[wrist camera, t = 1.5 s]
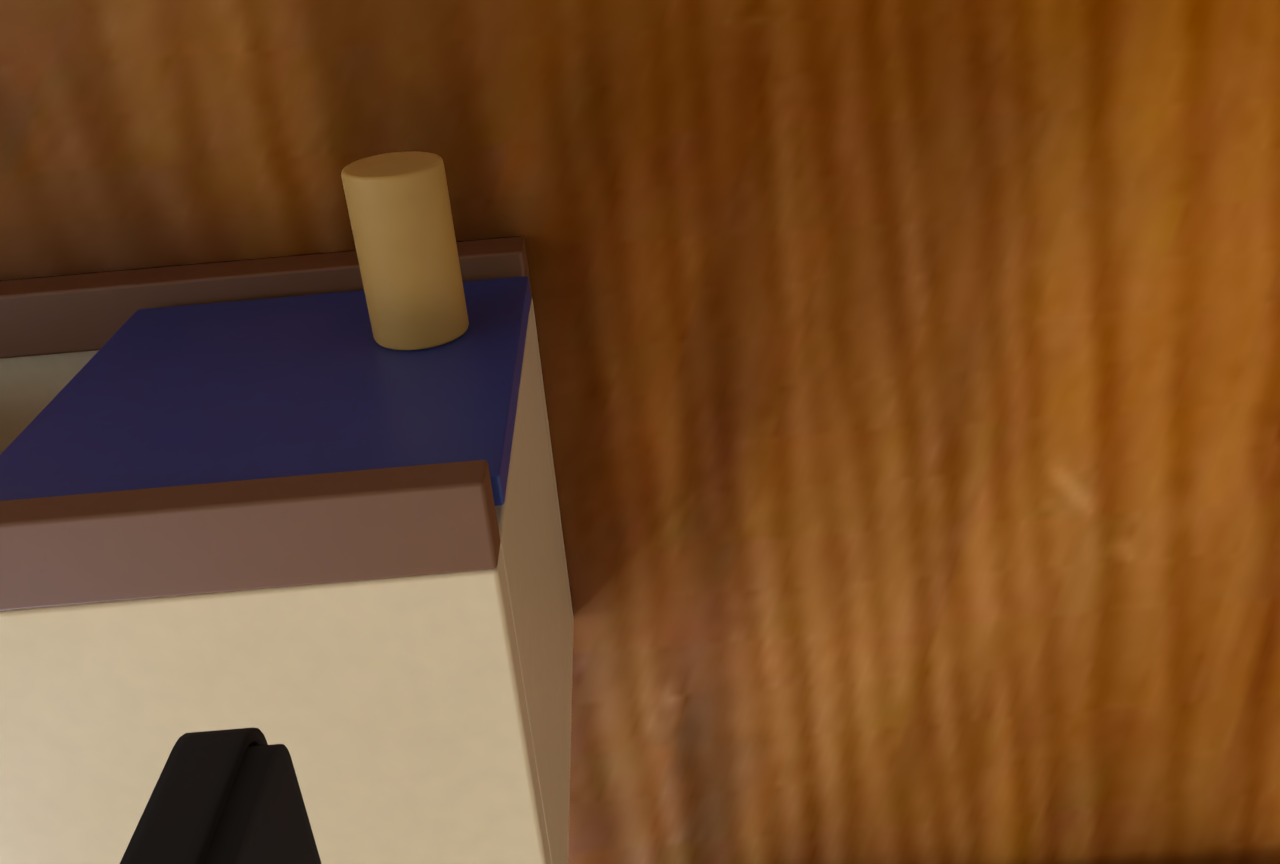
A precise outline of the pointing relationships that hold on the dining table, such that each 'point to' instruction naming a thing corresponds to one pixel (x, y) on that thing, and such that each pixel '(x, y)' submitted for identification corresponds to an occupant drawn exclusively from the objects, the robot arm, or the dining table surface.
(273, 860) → the robot arm
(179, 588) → the box with blue drawer
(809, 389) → the dining table surface
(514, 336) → the sliding door
